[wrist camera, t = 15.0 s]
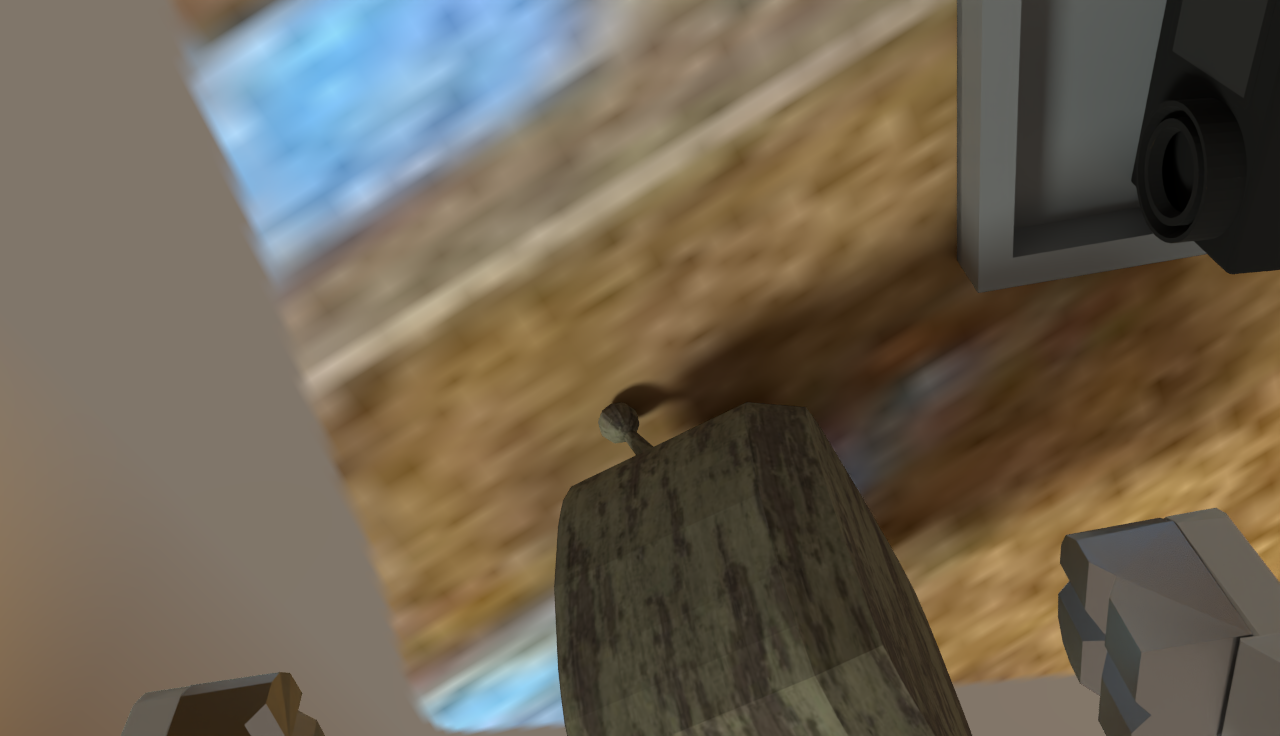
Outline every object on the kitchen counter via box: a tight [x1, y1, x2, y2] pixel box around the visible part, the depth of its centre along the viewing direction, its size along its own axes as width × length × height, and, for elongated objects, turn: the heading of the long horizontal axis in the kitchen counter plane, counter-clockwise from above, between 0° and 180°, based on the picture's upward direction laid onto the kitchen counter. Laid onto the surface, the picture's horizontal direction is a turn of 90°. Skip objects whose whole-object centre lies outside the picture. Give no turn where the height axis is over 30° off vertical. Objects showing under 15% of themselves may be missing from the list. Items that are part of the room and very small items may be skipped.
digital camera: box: [1131, 0, 1280, 274], centre depth 33 cm, size 10×5×7 cm, turn 4°
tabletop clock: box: [554, 402, 972, 736], centre depth 36 cm, size 14×9×25 cm, turn 29°
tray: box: [957, 0, 1207, 293], centre depth 35 cm, size 15×13×2 cm
